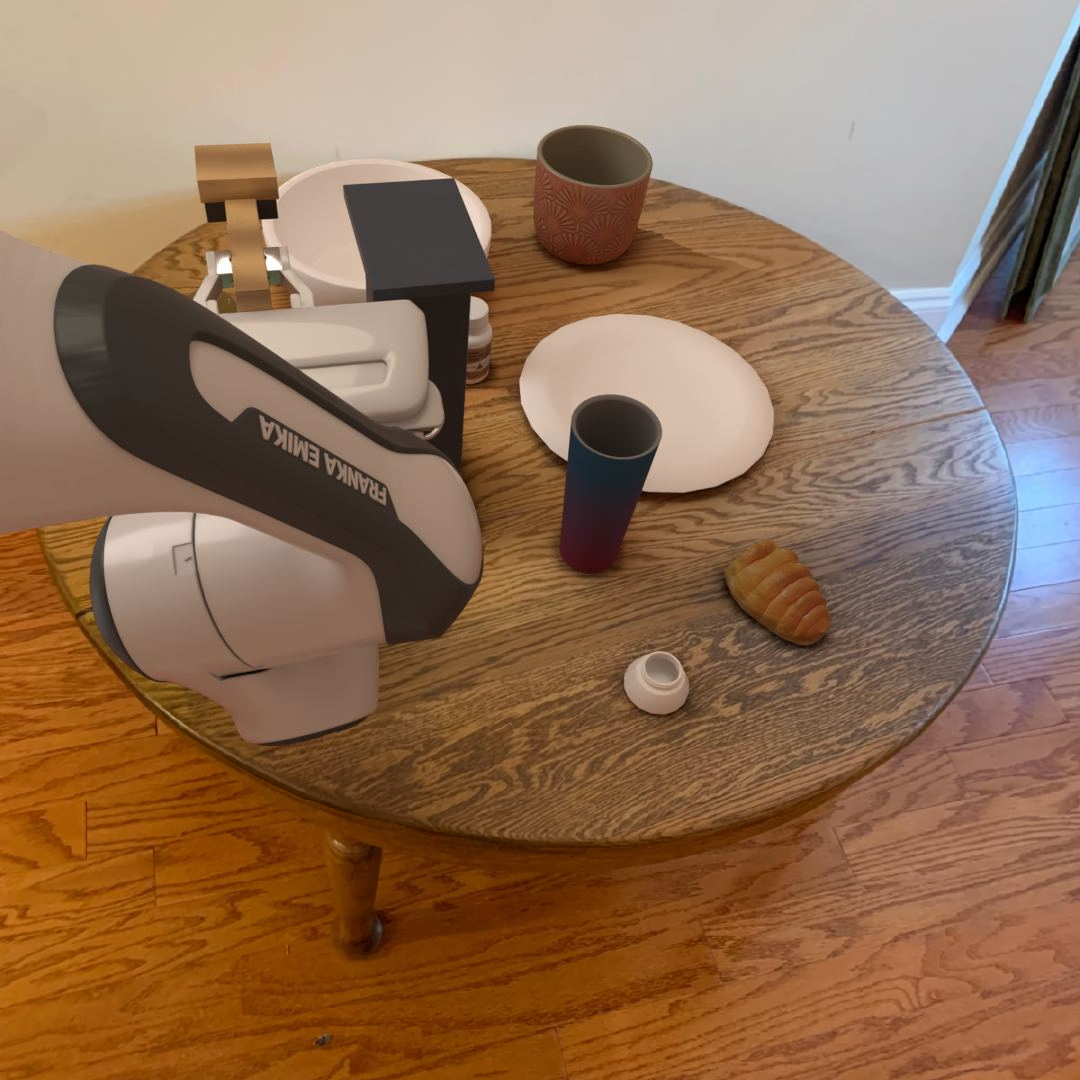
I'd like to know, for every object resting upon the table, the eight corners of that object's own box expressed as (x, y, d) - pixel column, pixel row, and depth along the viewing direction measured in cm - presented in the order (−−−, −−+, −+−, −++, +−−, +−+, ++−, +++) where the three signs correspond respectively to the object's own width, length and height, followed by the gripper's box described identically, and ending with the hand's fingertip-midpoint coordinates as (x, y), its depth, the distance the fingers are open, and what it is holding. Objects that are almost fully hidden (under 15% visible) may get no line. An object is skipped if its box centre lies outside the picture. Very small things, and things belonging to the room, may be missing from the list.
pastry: (844, 627, 81) (860, 601, 78) (786, 664, 78) (801, 638, 75) (768, 550, 86) (780, 523, 83) (710, 582, 83) (721, 555, 80)
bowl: (348, 203, 112) (344, 135, 105) (523, 271, 107) (530, 203, 101) (225, 307, 98) (212, 236, 92) (419, 389, 94) (419, 320, 87)
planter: (580, 290, 106) (594, 200, 98) (505, 234, 111) (513, 144, 103) (656, 251, 112) (676, 164, 104) (582, 200, 117) (596, 113, 109)
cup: (640, 571, 83) (678, 448, 71) (567, 591, 81) (593, 467, 69) (607, 512, 86) (638, 386, 75) (536, 530, 84) (557, 403, 73)
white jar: (688, 719, 74) (684, 663, 77) (697, 700, 72) (693, 643, 75) (623, 714, 74) (622, 657, 77) (630, 694, 72) (629, 637, 75)
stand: (382, 545, 82) (372, 289, 61) (358, 443, 88) (342, 184, 68) (475, 531, 84) (495, 279, 63) (444, 432, 90) (454, 177, 70)
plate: (743, 538, 86) (748, 525, 85) (479, 452, 89) (480, 439, 88) (789, 366, 102) (794, 354, 100) (563, 299, 105) (565, 286, 103)
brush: (298, 309, 59) (293, 265, 57) (211, 316, 57) (203, 271, 55) (275, 184, 69) (270, 142, 67) (201, 187, 68) (194, 145, 66)
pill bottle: (462, 391, 94) (465, 328, 88) (435, 366, 96) (437, 302, 90) (498, 375, 96) (503, 312, 90) (471, 350, 98) (475, 287, 92)
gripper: (455, 426, 57) (417, 215, 60) (80, 467, 52) (57, 235, 55) (444, 460, 63) (409, 267, 66) (106, 500, 58) (84, 290, 61)
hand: (246, 253), depth 60 cm, fingers closed on brush, 2 cm apart
